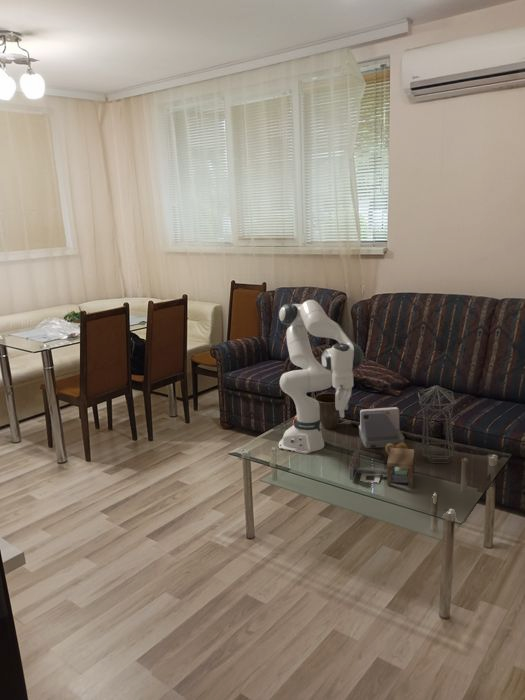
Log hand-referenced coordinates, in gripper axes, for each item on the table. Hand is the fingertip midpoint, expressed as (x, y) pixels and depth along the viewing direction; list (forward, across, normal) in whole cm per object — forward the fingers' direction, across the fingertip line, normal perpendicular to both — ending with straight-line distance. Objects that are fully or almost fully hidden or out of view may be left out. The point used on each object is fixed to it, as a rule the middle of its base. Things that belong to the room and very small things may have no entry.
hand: (344, 412), depth 241 cm
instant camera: (+27, +36, -12) cm, 46 cm away
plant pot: (+26, +48, +16) cm, 57 cm away
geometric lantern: (+28, +18, -38) cm, 50 cm away
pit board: (+27, -2, -11) cm, 30 cm away
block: (+28, -3, -24) cm, 36 cm away
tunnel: (+28, -3, -24) cm, 36 cm away
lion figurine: (+27, +16, -21) cm, 38 cm away
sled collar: (+27, -2, -15) cm, 31 cm away
